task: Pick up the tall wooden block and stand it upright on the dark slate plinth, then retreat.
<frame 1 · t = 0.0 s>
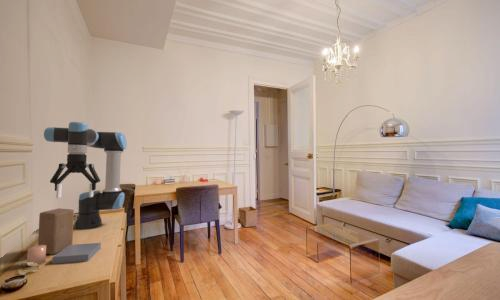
hand: (75, 197, 109), 28 cm above the table, fingers open, 13 cm apart
slate plinth: (78, 255, 108), on the table
wooden block: (55, 250, 113), on the table
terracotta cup: (36, 263, 99), on the table
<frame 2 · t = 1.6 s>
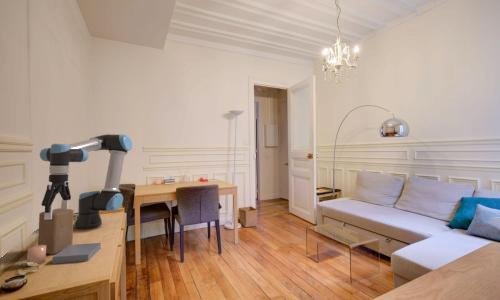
hand: (56, 215, 113), 17 cm above the table, fingers open, 13 cm apart
nothing on the table moved.
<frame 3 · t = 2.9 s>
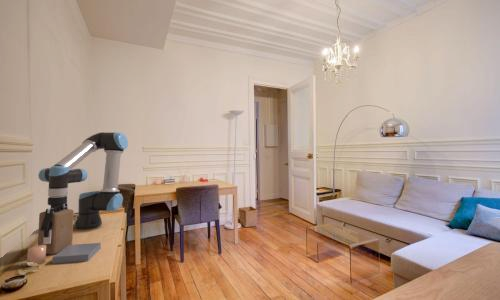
hand: (55, 238, 113), 6 cm above the table, fingers open, 12 cm apart
wooden block: (55, 250, 113), on the table, touching gripper, hand
everything else where it was.
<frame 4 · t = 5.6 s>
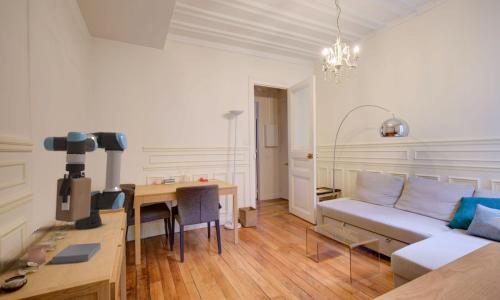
hand: (73, 206, 109), 23 cm above the table, fingers open, 13 cm apart
wooden block: (73, 219, 109), point 17 cm above the table, touching gripper, hand
everything else where it was.
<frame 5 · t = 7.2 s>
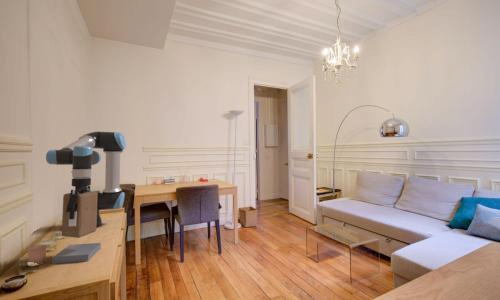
hand: (79, 221, 108), 16 cm above the table, fingers open, 13 cm apart
wooden block: (79, 234, 108), point 10 cm above the table, touching gripper, hand
everything else where it was.
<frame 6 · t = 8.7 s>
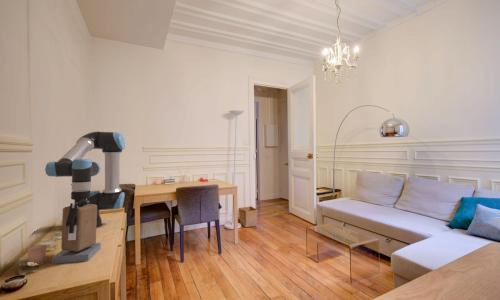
hand: (79, 234, 108), 10 cm above the table, fingers closed on wooden block, 12 cm apart
wooden block: (79, 247, 108), point 4 cm above the table, touching gripper, hand
everything else where it was.
when the fingers open (10 cm above the table, at t = 9.0 s): wooden block drops 1 cm, resting on slate plinth.
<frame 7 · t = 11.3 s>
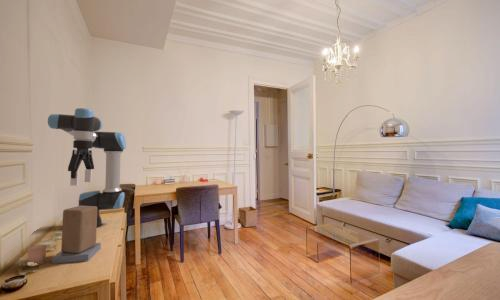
hand: (81, 183, 109), 35 cm above the table, fingers open, 13 cm apart
wooden block: (79, 249, 108), point 3 cm above the table, touching slate plinth
everything else where it was.
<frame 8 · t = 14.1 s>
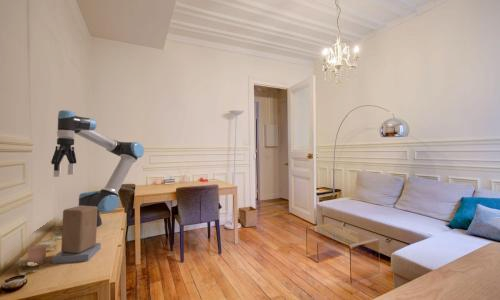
hand: (64, 175, 126), 37 cm above the table, fingers open, 13 cm apart
nothing on the table moved.
at the end: wooden block inside the target area on the slate plinth (0.2 cm from its centre), point 2.8 cm above the slate plinth's base; wooden block tilted 0°; the gripper is holding nothing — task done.
